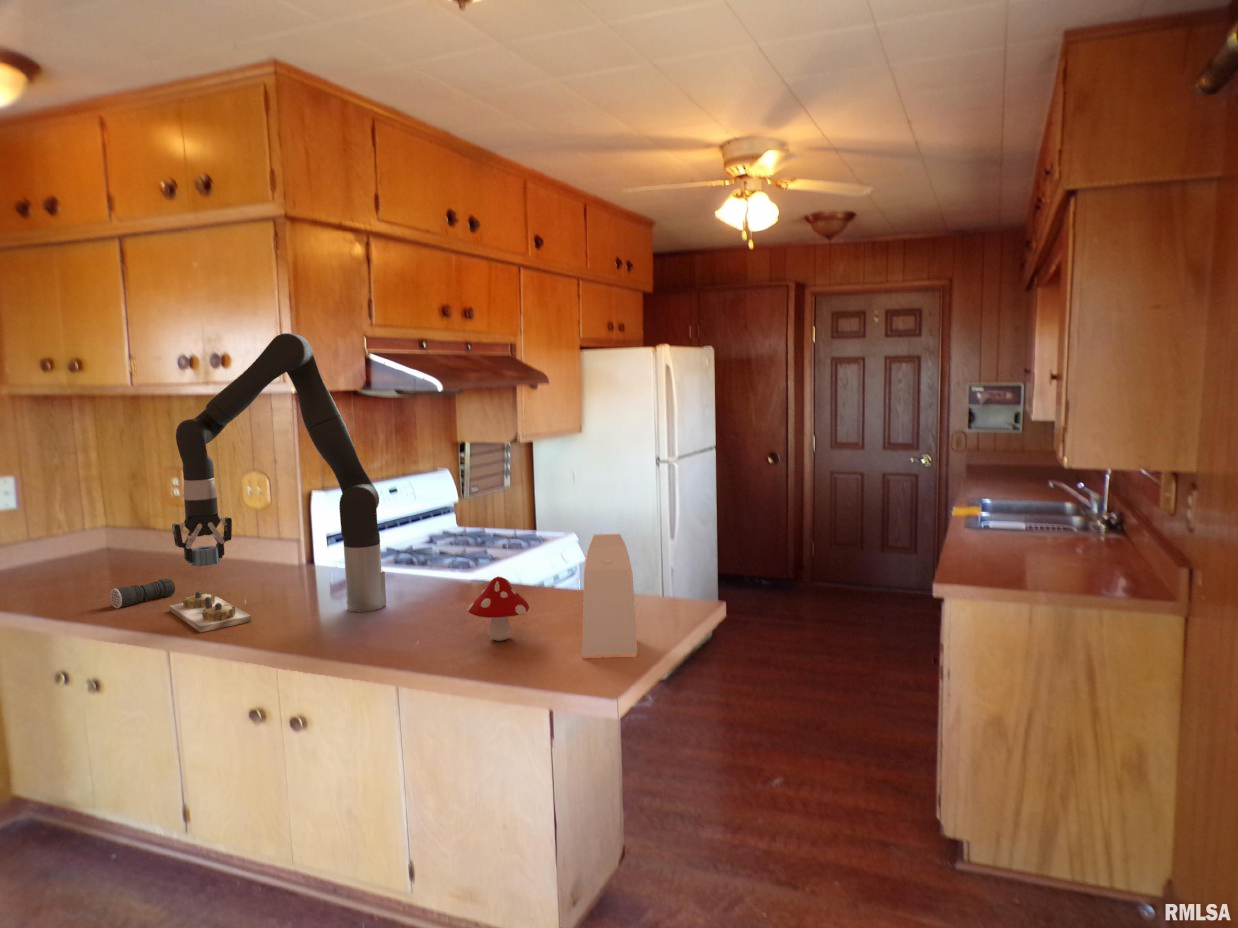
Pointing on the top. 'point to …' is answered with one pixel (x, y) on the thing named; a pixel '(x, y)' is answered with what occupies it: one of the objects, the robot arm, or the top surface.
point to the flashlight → (141, 592)
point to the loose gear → (205, 556)
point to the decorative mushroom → (499, 607)
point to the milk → (608, 598)
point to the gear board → (206, 624)
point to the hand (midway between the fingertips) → (205, 559)
